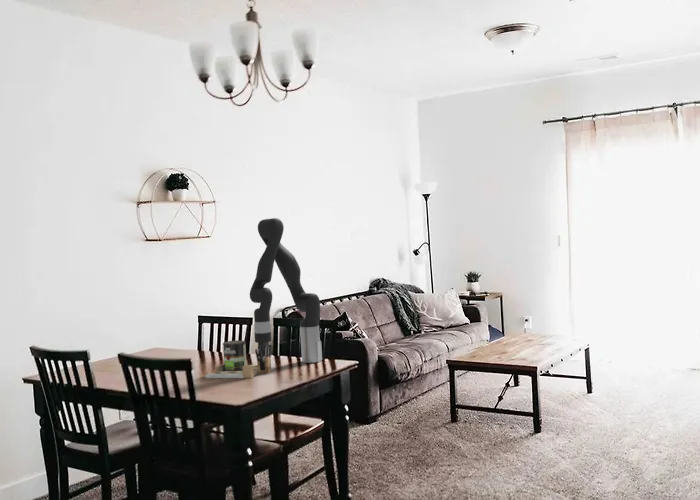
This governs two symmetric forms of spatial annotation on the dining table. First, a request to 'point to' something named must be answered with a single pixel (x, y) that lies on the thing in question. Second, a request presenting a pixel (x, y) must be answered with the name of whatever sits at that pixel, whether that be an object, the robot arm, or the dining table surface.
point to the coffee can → (234, 355)
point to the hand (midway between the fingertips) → (264, 369)
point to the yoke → (257, 370)
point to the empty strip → (247, 373)
